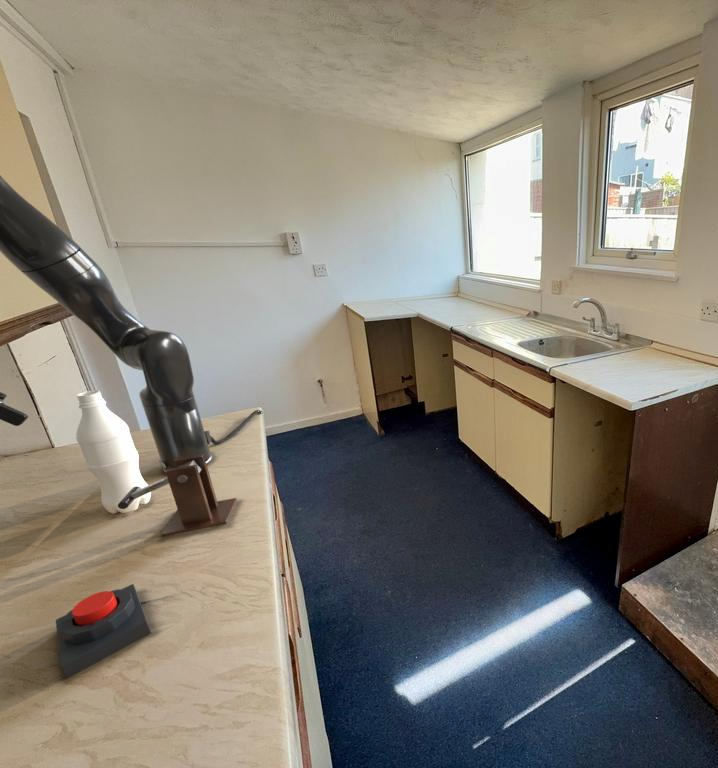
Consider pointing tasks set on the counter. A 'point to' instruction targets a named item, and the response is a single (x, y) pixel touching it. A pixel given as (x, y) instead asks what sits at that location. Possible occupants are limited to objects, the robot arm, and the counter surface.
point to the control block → (101, 633)
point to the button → (94, 608)
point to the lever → (147, 488)
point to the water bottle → (109, 452)
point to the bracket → (195, 498)
